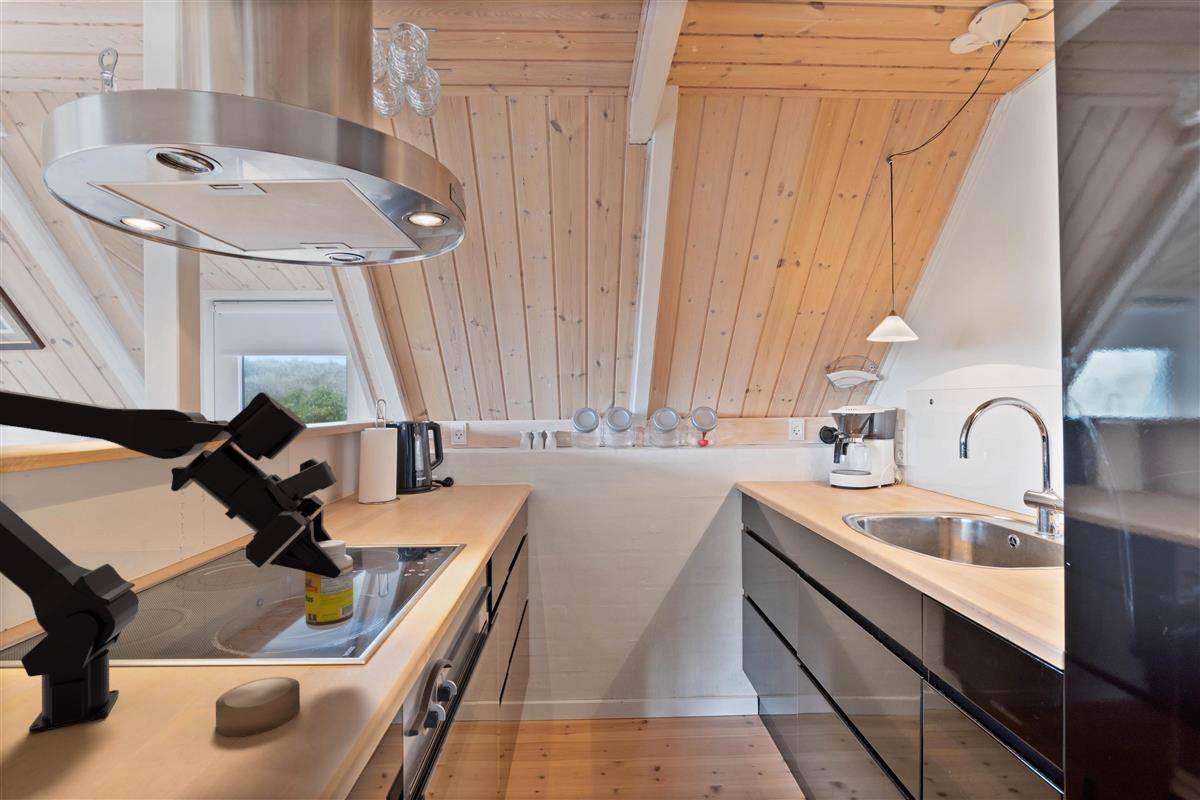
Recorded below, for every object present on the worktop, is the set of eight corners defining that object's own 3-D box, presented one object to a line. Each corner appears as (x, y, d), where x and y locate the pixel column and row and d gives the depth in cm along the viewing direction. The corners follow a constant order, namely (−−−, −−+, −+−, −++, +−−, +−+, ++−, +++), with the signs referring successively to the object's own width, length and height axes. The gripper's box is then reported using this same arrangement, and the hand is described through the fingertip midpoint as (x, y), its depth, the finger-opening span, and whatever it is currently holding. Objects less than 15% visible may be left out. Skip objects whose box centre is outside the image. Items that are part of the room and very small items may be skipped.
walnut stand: (218, 710, 66) (218, 686, 66) (298, 692, 70) (298, 669, 70) (212, 744, 59) (212, 718, 59) (301, 722, 63) (301, 697, 63)
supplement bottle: (305, 620, 76) (304, 541, 76) (352, 613, 78) (351, 536, 79) (305, 635, 71) (304, 550, 71) (354, 626, 73) (353, 544, 74)
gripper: (278, 443, 65) (385, 535, 68) (306, 437, 83) (390, 510, 86) (195, 519, 62) (310, 611, 66) (243, 496, 80) (331, 569, 83)
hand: (341, 569), depth 75 cm, fingers closed on supplement bottle, 5 cm apart
